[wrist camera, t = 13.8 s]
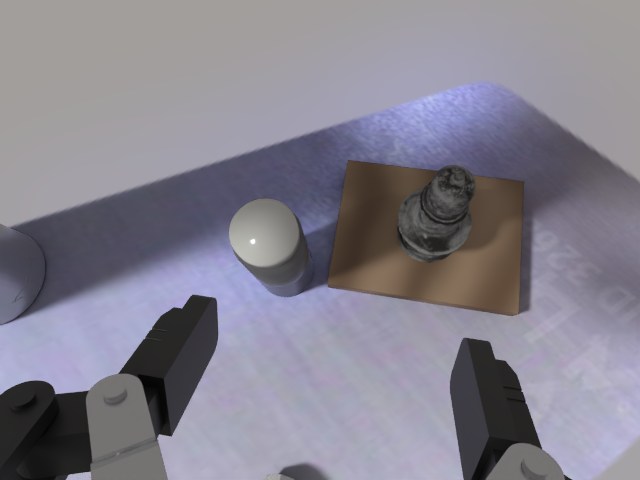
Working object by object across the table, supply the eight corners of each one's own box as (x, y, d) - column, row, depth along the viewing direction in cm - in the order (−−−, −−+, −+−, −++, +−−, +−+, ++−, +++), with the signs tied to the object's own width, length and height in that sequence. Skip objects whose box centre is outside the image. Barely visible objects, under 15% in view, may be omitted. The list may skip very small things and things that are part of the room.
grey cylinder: (254, 292, 39) (218, 260, 28) (265, 240, 41) (235, 191, 30) (308, 301, 39) (292, 272, 28) (318, 247, 40) (306, 200, 29)
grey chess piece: (435, 191, 39) (470, 115, 28) (474, 243, 38) (530, 186, 26) (380, 223, 39) (394, 160, 27) (418, 278, 37) (449, 235, 26)
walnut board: (327, 287, 39) (327, 283, 37) (348, 167, 42) (348, 160, 41) (512, 316, 37) (518, 313, 36) (517, 188, 40) (523, 181, 39)
